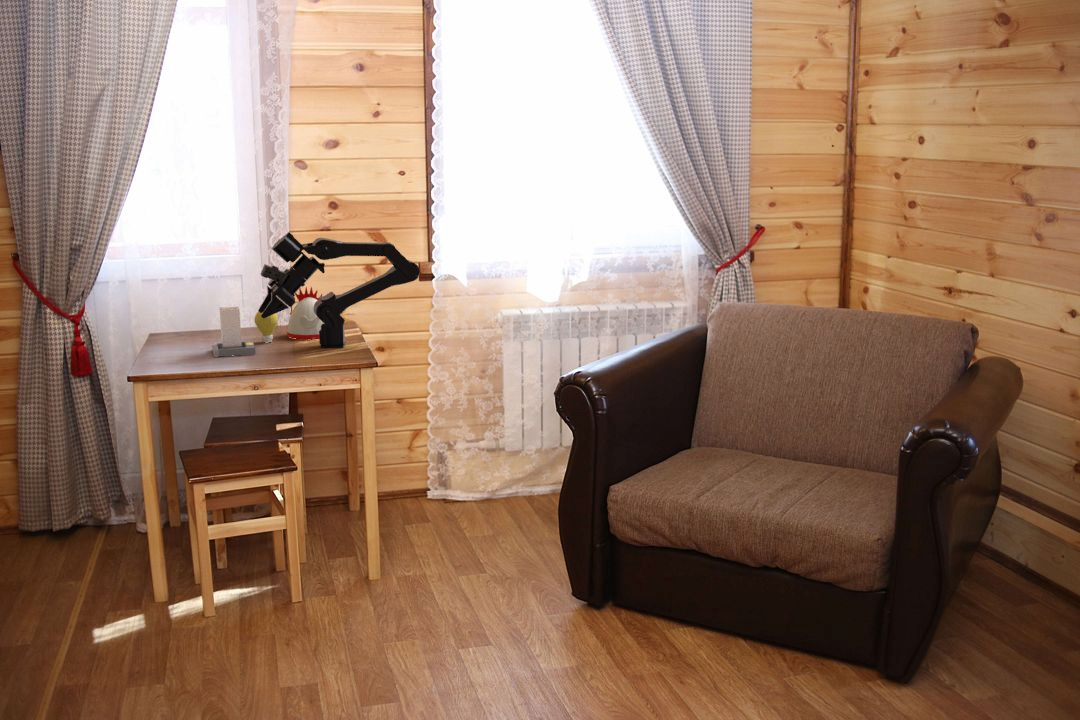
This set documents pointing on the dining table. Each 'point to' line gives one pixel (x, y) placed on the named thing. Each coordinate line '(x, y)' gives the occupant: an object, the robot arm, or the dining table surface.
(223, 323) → the rectangular block post
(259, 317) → the light bulb
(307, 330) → the kitchen timer
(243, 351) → the plate
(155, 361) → the dining table surface
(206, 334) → the dining table surface
